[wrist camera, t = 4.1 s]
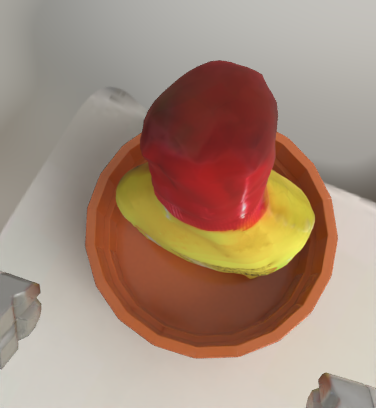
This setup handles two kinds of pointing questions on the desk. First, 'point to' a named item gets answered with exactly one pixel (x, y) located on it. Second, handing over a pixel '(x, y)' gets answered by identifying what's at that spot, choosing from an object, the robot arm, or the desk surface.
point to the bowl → (206, 272)
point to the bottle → (216, 175)
